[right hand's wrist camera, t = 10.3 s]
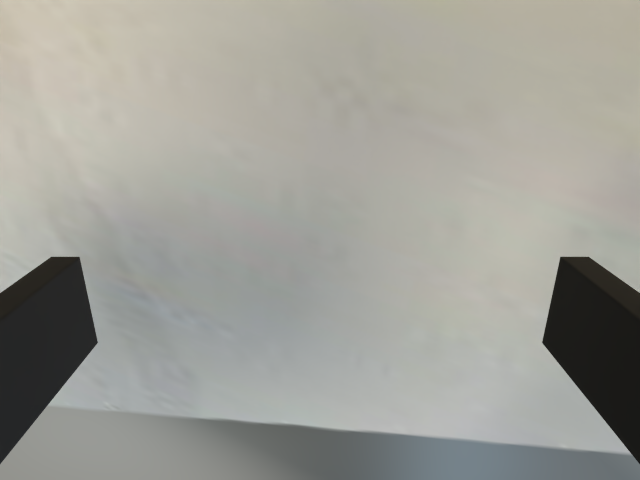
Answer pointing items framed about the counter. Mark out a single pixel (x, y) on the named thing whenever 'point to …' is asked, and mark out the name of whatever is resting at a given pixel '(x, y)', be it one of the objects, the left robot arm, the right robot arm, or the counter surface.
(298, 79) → the counter surface
